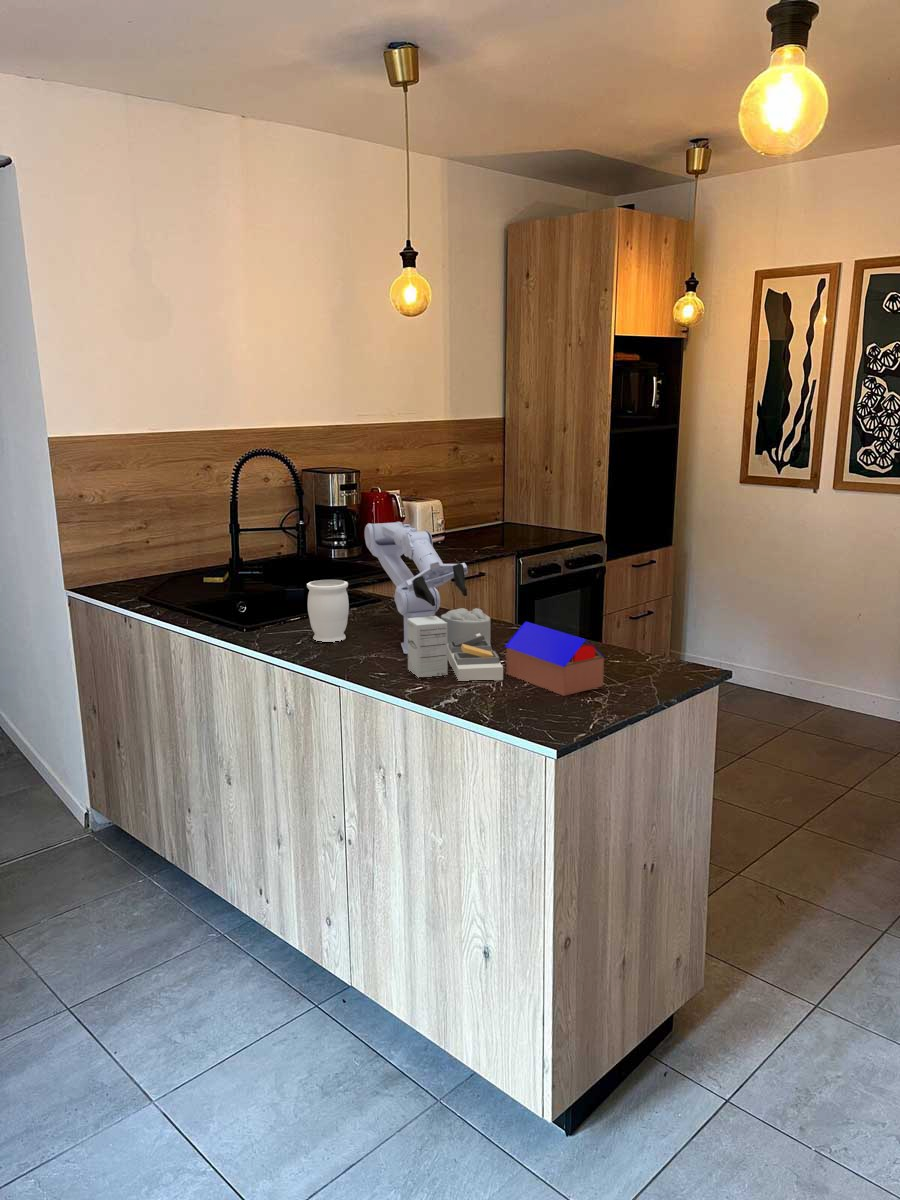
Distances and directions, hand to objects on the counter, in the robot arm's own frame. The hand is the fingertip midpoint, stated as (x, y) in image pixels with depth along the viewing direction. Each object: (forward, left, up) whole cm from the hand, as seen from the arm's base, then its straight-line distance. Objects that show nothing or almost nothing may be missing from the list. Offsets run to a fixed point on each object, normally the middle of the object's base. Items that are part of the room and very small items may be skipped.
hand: (449, 597), depth 206 cm
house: (+10, +22, -18) cm, 30 cm away
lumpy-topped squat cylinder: (-24, +8, -18) cm, 31 cm away
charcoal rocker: (-8, +6, -13) cm, 16 cm away
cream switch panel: (-3, +6, -17) cm, 19 cm away
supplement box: (+1, -5, -18) cm, 18 cm away
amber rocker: (+2, +6, -13) cm, 14 cm away
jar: (-34, -27, -18) cm, 47 cm away
